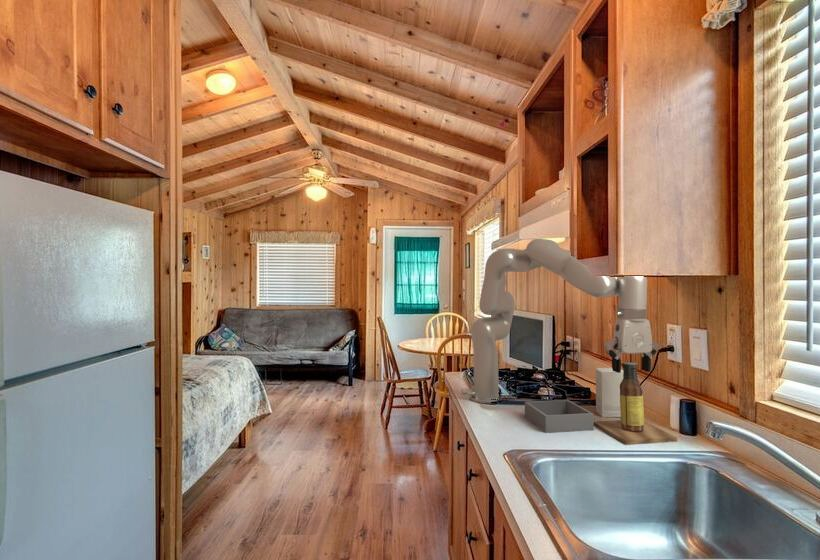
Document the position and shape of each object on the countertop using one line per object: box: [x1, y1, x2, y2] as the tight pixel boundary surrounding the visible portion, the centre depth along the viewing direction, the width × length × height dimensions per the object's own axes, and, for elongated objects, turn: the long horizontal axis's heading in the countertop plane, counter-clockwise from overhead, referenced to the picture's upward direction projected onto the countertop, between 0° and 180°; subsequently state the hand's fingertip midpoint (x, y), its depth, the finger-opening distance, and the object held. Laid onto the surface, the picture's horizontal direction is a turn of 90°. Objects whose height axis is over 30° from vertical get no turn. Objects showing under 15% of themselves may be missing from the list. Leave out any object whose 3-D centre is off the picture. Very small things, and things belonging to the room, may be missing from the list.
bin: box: [524, 399, 595, 434], centre depth 137 cm, size 16×16×5 cm
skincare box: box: [594, 367, 623, 418], centre depth 146 cm, size 8×7×16 cm
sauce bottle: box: [620, 361, 645, 432], centre depth 128 cm, size 7×6×20 cm
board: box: [594, 419, 678, 446], centre depth 128 cm, size 16×16×1 cm
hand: (631, 371), depth 128 cm, fingers open, 9 cm apart
